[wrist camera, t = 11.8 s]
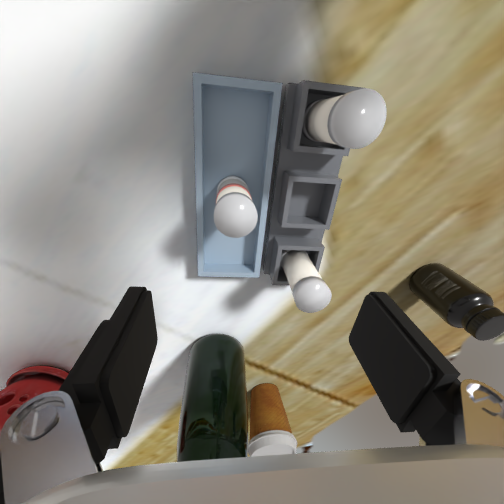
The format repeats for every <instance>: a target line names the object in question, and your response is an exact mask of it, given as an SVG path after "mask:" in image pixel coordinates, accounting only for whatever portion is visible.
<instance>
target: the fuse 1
mask: <svg viewBox="0 0 504 504" xmlns="http://www.w3.org/2000/svg"><path fill="white" fill-rule="evenodd" d="M280 263H281V266H282V268H283V269H284V272H285V275H286V277H287V280H288V282H289V285H290V288H291V290H292V294H293V298H294V300H295V303H296V306H297V307H298V308H299V309H300V310H301V311H303V312H307V313H312V312H317V311H320V310H322V309H323V308H325V307H326V306H327V305H328V304H329V302H330V300H331V291H330V289H329V288H328V286H327V284H326V283H325V281H324V280H323V279H322V278H321V276H320V275H319V273H318V271H317V270H316V268H315V266H314V265H313V263H312V261H311V260H310V258H309V256H308V254H307V252H306V250H282V255H281V261H280Z"/></svg>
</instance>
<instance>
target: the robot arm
mask: <svg viewBox="0 0 504 504" xmlns="http://www.w3.org/2000/svg"><path fill="white" fill-rule="evenodd" d="M349 343H350V345H351V347H352V349H353V351H354V353H355V355H356V356H357V358H358V360H359V362H360V364H361V366H362V367H363V369H364V371H365V373H366V375H367V377H368V378H369V380H370V382H371V384H372V386H373V388H374V389H375V391H376V393H377V395H378V396H379V399H380V400H381V402H382V404H383V406H384V408H385V409H386V411H387V413H388V415H389V417H390V419H391V420H392V421H393V422H394V423H396V424H397V426H398V428H399V430H400V432H414V431H415V430H417V432H418V433H419V435H420V441H419V446H412V447H396V448H378V449H361V450H346V451H330V452H314V453H299V454H283V455H268V456H254V457H240V458H225V459H211V460H197V461H185V462H173V463H162V464H151V465H140V466H132V467H125V468H118V469H111V470H106V471H103V469H102V466H101V464H100V462H101V461H102V460H103V459H104V458H105V455H106V453H107V450H108V449H114V448H118V447H119V444H120V441H121V438H122V437H126V436H127V435H128V433H129V430H130V427H131V424H132V420H133V417H134V414H135V411H136V408H137V405H138V402H139V399H140V396H141V392H142V389H143V386H144V383H145V380H146V377H147V374H148V371H149V368H150V364H151V361H152V358H153V355H154V352H155V349H156V345H157V331H156V323H155V316H154V309H153V301H152V294H151V291H147V289H146V287H129V288H128V290H127V292H126V293H125V295H124V297H123V298H122V300H121V302H120V303H119V305H118V307H117V308H116V310H115V312H114V313H113V315H112V317H111V318H110V320H104V321H103V322H102V323H101V324H100V325H99V327H98V328H97V330H96V331H95V333H94V335H93V336H92V338H91V339H90V341H89V343H88V344H87V346H86V347H85V349H84V350H83V352H82V354H81V355H80V357H79V358H78V360H77V362H76V363H75V365H74V366H73V368H72V369H71V371H70V373H69V374H68V376H67V377H66V379H65V380H64V382H63V384H62V385H61V387H60V388H59V390H58V391H50V392H46V393H43V394H40V395H38V396H35V397H33V398H32V399H30V400H29V401H27V402H25V403H24V404H22V405H21V406H20V407H19V408H18V409H17V410H15V411H14V412H13V413H12V415H11V416H10V417H9V418H8V419H7V421H6V422H5V424H4V426H3V428H2V430H1V432H0V504H504V397H503V396H502V395H501V394H500V393H499V392H497V391H496V390H495V389H493V388H491V387H490V386H488V385H486V384H484V383H482V382H479V381H476V380H472V379H467V380H464V381H462V382H460V381H459V380H458V379H457V378H458V376H459V375H460V373H459V372H458V371H457V370H456V369H455V368H454V366H453V365H452V364H451V363H450V362H449V361H448V360H447V359H446V358H445V357H444V356H443V354H442V353H441V352H440V351H439V350H438V349H437V348H436V347H435V346H434V345H433V344H432V342H431V341H430V340H429V339H428V338H427V337H426V336H425V335H424V334H423V333H422V332H421V330H420V329H419V328H418V327H417V326H416V325H415V324H414V323H413V322H412V321H411V320H410V318H409V317H408V316H407V315H406V314H405V313H404V312H403V311H402V310H401V309H400V308H399V306H398V305H397V304H396V303H395V302H394V301H393V300H392V299H391V298H390V297H389V296H388V294H386V293H385V292H370V293H369V295H367V296H366V297H365V299H364V301H363V304H362V306H361V309H360V311H359V314H358V316H357V318H356V321H355V323H354V326H353V328H352V331H351V333H350V336H349Z"/></svg>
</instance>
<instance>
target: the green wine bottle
mask: <svg viewBox="0 0 504 504" xmlns="http://www.w3.org/2000/svg"><path fill="white" fill-rule="evenodd" d="M247 453H248V410H247V390H246V371H245V356H244V349H243V346H242V345H241V343H240V342H239V341H238V340H237V339H235V338H233V337H231V336H229V335H224V334H212V335H207V336H205V337H202V338H201V339H199V340H198V341H196V342H195V343H194V345H193V346H192V347H191V350H190V354H189V359H188V366H187V372H186V379H185V386H184V393H183V400H182V407H181V415H180V422H179V431H178V441H177V462H185V461H197V460H211V459H225V458H240V457H247Z"/></svg>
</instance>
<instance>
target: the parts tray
mask: <svg viewBox="0 0 504 504" xmlns="http://www.w3.org/2000/svg"><path fill="white" fill-rule="evenodd" d="M282 84H283V83H277V82H269V81H261V80H252V79H244V78H236V77H228V76H219V75H211V74H203V73H195V72H193V102H194V141H195V180H196V219H197V258H198V276H205V277H257V278H259V275H260V267H261V259H262V250H263V242H264V234H265V225H266V217H267V209H268V200H269V192H270V184H271V175H272V167H273V159H274V150H275V142H276V134H277V125H278V117H279V109H280V100H281V92H282ZM230 175H234V176H238V177H240V178H242V179H243V180H244V181H245V182H246V184H247V186H248V189H249V193H250V195H251V198H252V201H253V203H254V205H255V208H256V210H257V215H258V219H257V224H256V226H255V228H254V229H253V230H252V231H251V232H250V233H249V234H248V235H246V236H243V237H240V238H232V237H228V236H225V235H224V234H222V233H221V232H220V231H219V230H218V229H217V227H216V225H215V223H214V209H215V205H216V197H217V195H216V193H217V186H218V184H219V182H220V181H221V180H222V179H223V178H225V177H227V176H230Z"/></svg>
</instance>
